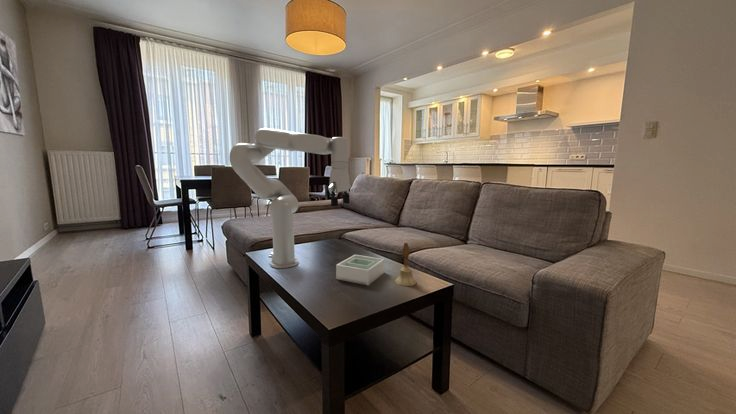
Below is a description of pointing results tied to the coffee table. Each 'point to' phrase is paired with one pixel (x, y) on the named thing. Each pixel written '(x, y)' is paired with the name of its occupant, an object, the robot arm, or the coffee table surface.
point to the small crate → (360, 263)
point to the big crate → (360, 271)
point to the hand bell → (405, 270)
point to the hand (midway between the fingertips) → (340, 204)
